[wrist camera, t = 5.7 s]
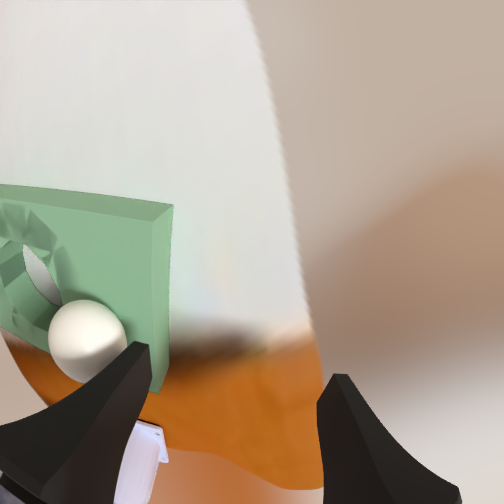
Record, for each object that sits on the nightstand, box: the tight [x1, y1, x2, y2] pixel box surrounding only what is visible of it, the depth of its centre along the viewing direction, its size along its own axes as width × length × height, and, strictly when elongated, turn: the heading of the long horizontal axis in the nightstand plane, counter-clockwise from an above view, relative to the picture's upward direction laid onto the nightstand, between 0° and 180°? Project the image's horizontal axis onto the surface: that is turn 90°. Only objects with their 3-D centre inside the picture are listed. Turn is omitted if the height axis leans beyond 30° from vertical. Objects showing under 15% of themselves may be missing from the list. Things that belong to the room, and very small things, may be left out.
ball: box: [48, 300, 127, 383], centre depth 9 cm, size 4×4×4 cm
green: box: [0, 184, 173, 394], centre depth 12 cm, size 10×14×2 cm
